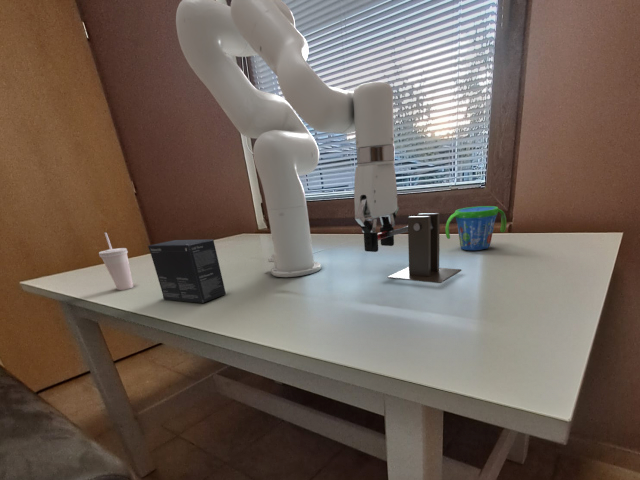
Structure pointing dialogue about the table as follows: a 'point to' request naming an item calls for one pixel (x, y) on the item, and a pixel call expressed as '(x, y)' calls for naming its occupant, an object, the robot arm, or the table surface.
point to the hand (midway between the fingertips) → (379, 247)
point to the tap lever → (396, 232)
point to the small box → (188, 270)
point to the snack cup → (476, 226)
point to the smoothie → (117, 266)
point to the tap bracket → (424, 251)
